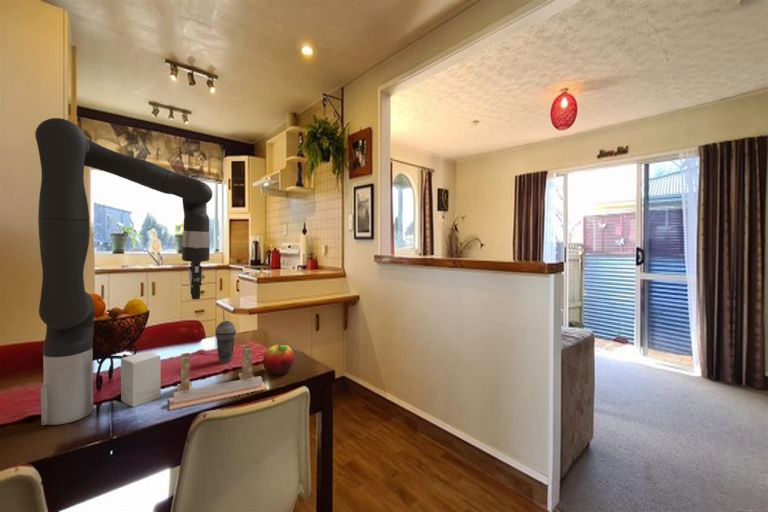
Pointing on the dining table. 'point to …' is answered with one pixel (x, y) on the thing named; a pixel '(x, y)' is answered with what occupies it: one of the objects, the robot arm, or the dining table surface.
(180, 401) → the pale grey long bar
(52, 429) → the dining table surface
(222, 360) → the beverage cup
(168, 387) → the dining table surface
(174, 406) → the terracotta board
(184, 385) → the left stand
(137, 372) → the supplement box
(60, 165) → the robot arm
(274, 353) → the fruit
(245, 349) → the right stand
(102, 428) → the dining table surface
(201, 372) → the dining table surface
